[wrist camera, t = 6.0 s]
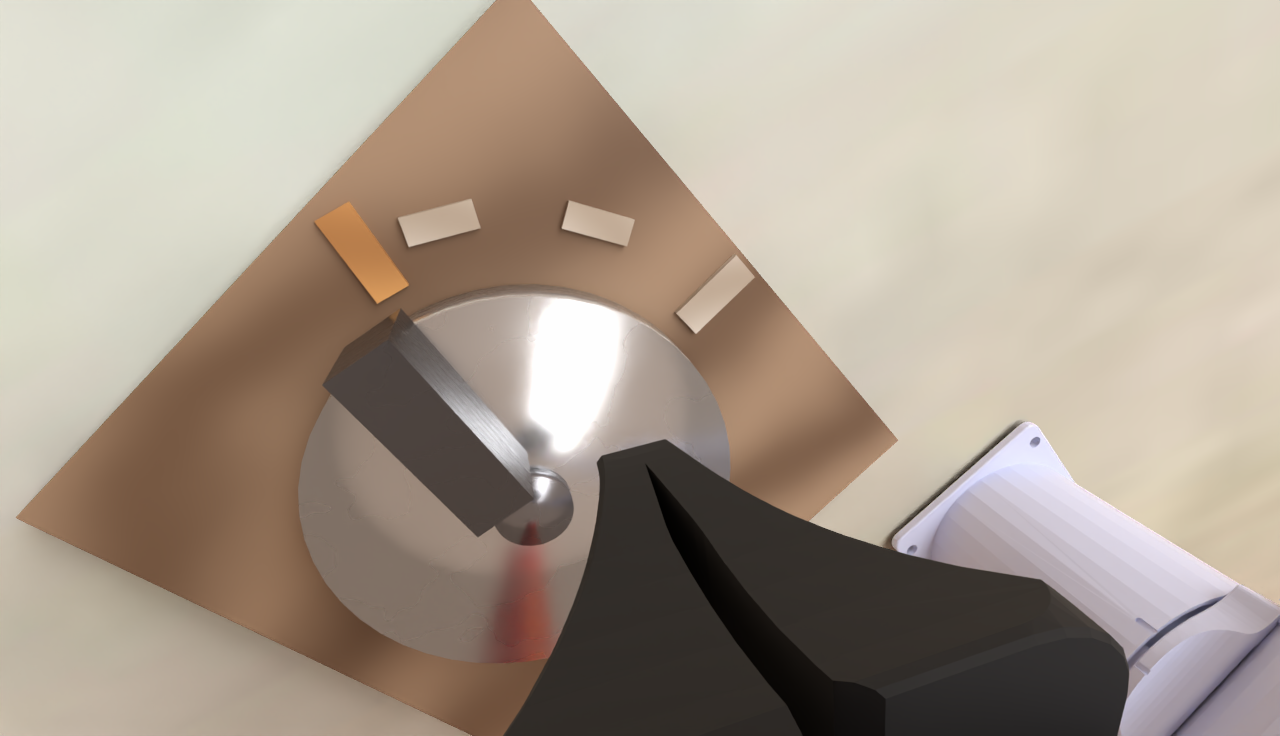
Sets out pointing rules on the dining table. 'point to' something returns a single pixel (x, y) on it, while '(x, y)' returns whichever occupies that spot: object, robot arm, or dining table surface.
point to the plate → (411, 280)
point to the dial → (487, 461)
